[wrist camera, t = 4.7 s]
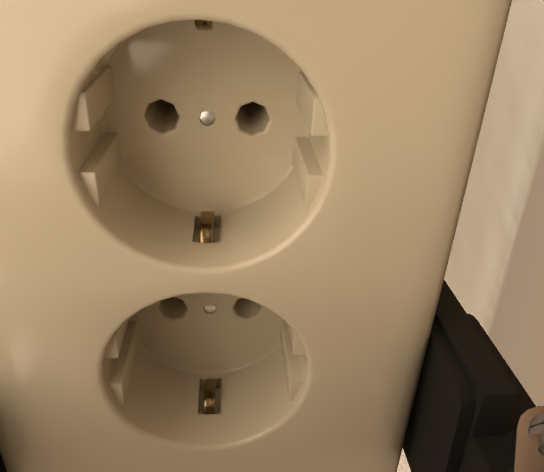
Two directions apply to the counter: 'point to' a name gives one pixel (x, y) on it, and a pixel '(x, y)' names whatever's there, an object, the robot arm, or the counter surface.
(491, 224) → the counter surface
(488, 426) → the robot arm
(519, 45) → the counter surface
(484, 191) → the counter surface
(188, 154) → the electrical outlet
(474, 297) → the counter surface
